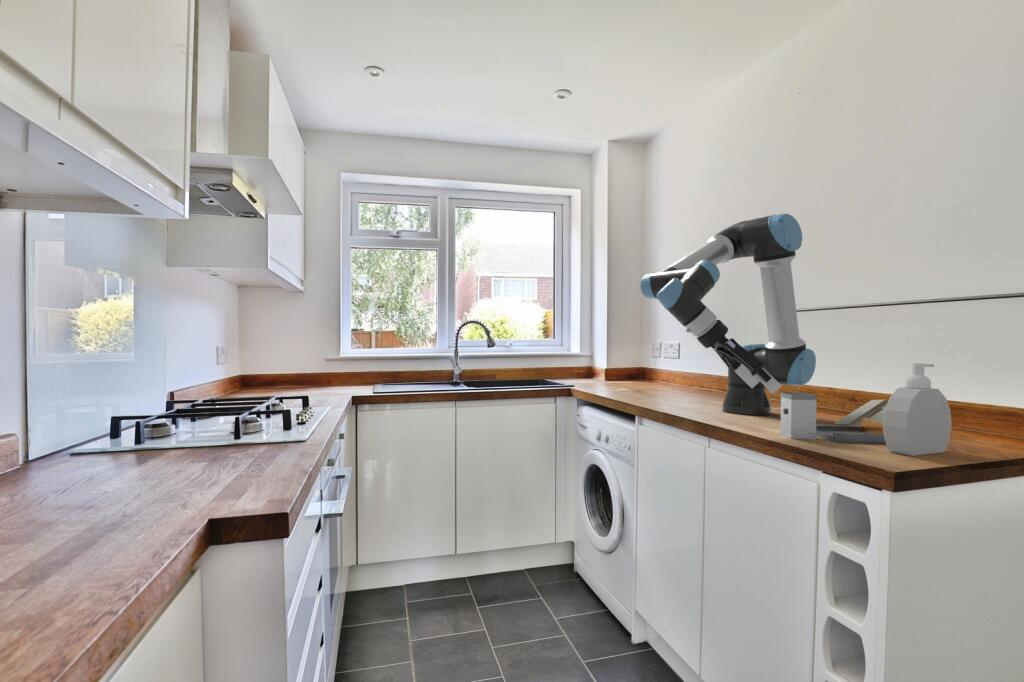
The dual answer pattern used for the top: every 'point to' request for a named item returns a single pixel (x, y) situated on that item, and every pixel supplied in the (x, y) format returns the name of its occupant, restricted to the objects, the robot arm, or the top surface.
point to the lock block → (798, 415)
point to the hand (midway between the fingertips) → (765, 387)
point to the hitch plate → (853, 432)
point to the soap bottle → (917, 417)
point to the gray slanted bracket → (865, 413)
